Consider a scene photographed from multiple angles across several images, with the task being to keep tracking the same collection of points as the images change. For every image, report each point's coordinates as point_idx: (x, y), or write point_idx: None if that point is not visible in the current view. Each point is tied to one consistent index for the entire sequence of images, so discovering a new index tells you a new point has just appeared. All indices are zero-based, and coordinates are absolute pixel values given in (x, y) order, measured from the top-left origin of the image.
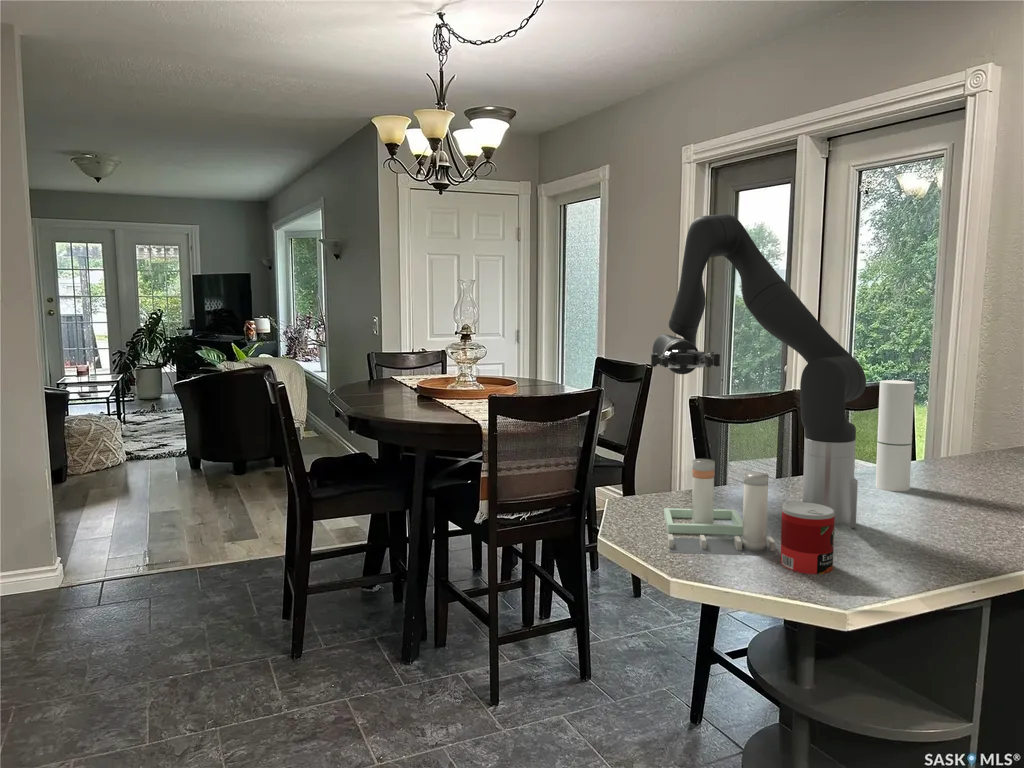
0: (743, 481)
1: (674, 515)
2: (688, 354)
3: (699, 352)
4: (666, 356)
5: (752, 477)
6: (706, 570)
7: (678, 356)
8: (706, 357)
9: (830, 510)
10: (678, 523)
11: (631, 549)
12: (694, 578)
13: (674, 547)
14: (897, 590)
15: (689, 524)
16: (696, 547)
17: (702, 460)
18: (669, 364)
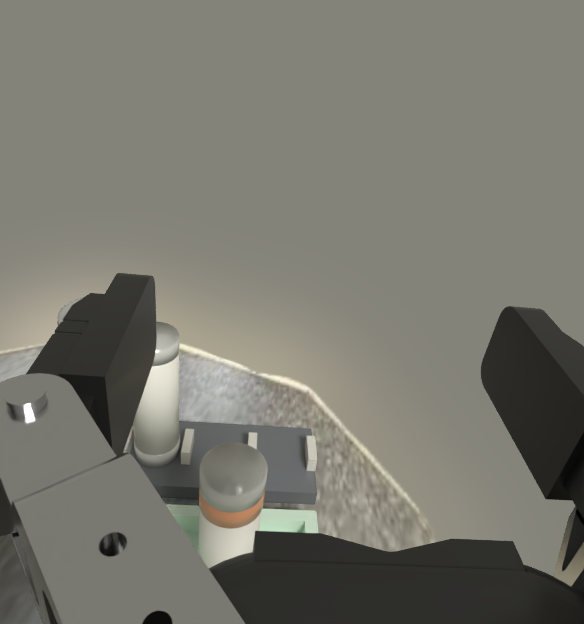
0: (178, 352)
1: None
2: (326, 572)
3: (134, 466)
4: (544, 332)
5: (168, 325)
6: (256, 410)
7: (488, 553)
8: (136, 319)
9: (66, 310)
10: (292, 519)
11: (378, 485)
12: (277, 390)
13: (303, 448)
14: (15, 361)
15: (268, 514)
16: (264, 448)
17: (235, 473)
18: (556, 576)
